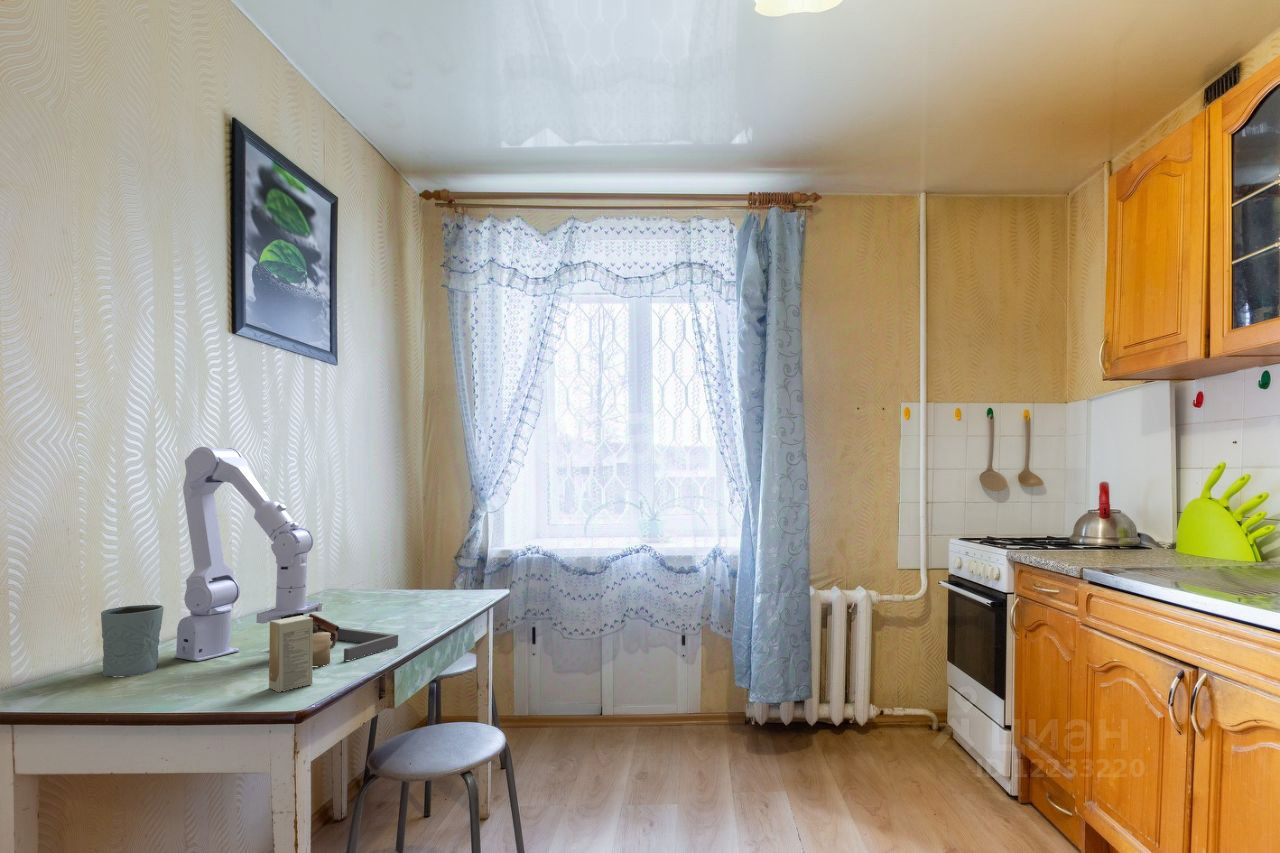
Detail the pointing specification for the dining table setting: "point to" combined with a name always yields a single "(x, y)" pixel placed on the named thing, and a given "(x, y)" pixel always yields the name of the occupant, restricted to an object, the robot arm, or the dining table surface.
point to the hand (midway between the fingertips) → (289, 651)
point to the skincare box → (290, 653)
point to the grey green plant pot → (131, 639)
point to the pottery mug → (324, 627)
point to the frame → (365, 642)
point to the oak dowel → (321, 648)
